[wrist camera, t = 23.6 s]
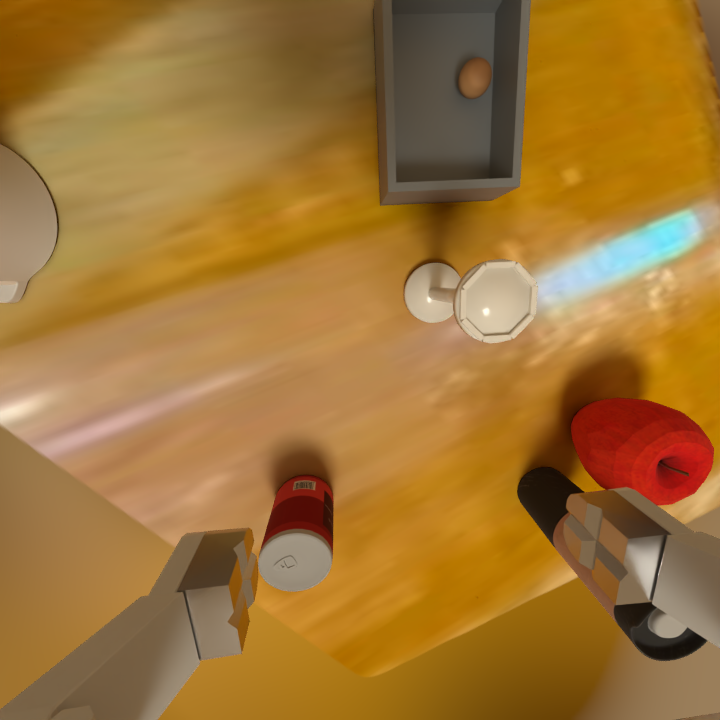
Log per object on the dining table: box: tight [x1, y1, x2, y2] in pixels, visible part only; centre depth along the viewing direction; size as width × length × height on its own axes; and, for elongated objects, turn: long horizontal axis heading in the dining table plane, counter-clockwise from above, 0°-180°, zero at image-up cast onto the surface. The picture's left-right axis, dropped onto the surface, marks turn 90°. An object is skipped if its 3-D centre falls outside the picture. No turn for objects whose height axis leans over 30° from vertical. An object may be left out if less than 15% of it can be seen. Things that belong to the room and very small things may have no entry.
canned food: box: [258, 475, 333, 591], centre depth 41 cm, size 8×8×11 cm
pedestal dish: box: [404, 259, 538, 343], centre depth 32 cm, size 7×7×17 cm
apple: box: [571, 398, 714, 505], centre depth 40 cm, size 12×12×13 cm
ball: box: [458, 57, 492, 99], centre depth 33 cm, size 3×3×3 cm
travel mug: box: [518, 467, 708, 661], centre depth 39 cm, size 8×8×20 cm
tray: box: [373, 0, 531, 205], centre depth 33 cm, size 13×18×6 cm
